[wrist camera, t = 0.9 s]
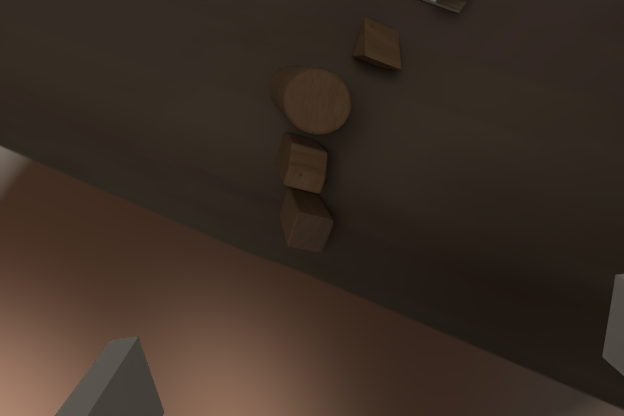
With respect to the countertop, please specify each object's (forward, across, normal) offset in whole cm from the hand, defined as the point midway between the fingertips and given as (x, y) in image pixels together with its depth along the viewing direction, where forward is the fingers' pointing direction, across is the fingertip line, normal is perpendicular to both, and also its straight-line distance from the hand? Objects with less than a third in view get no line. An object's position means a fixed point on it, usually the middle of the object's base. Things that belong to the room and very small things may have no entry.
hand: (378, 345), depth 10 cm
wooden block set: (+25, 0, -3) cm, 25 cm away
